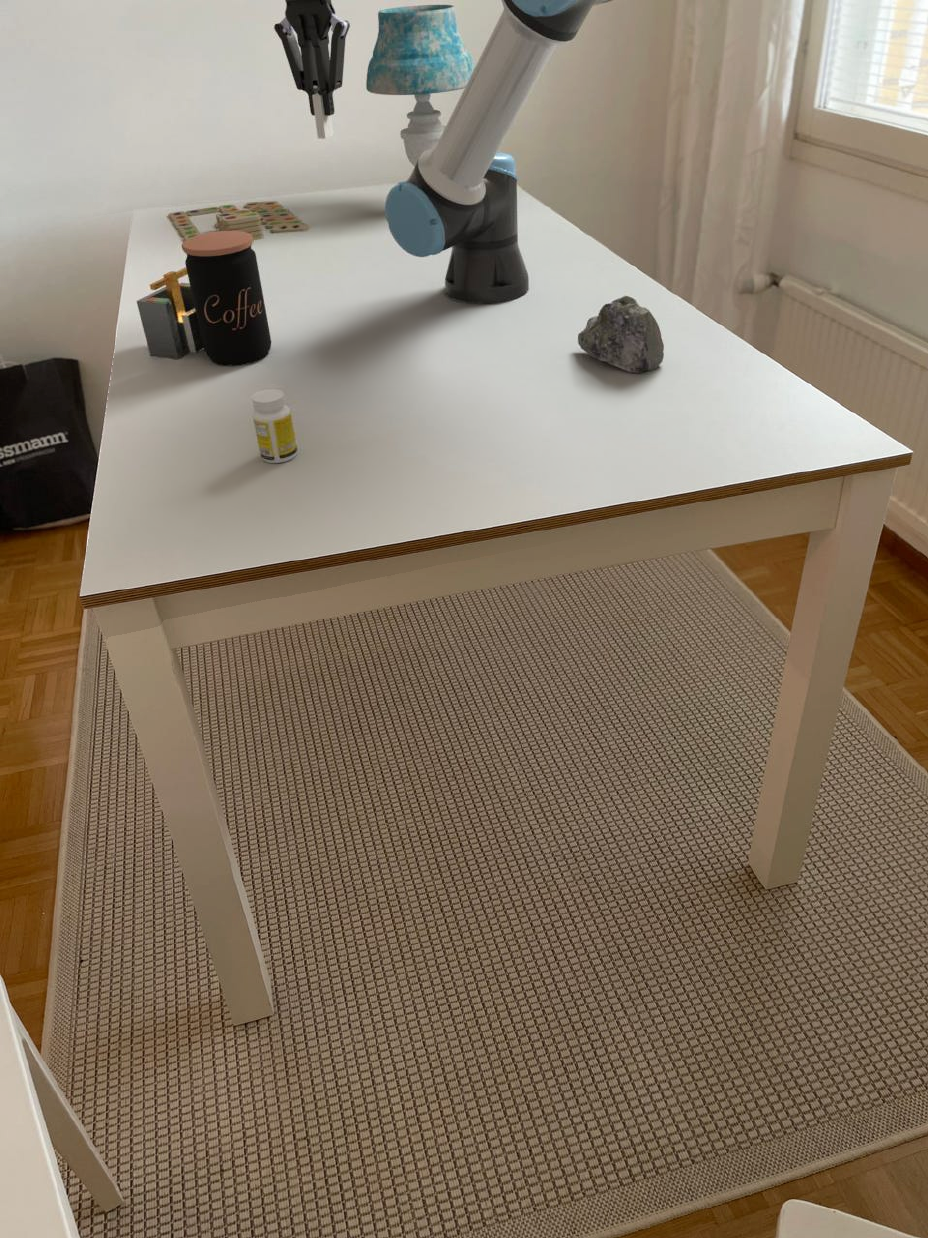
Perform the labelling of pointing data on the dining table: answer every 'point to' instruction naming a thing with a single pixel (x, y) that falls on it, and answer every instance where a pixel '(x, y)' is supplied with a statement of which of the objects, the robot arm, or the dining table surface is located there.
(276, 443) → the supplement bottle
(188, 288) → the gauge housing
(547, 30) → the robot arm
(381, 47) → the table lamp
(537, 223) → the dining table surface
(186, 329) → the plunger
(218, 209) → the pile of dominoes
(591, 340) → the mineral rock
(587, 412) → the dining table surface
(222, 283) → the coffee jar
